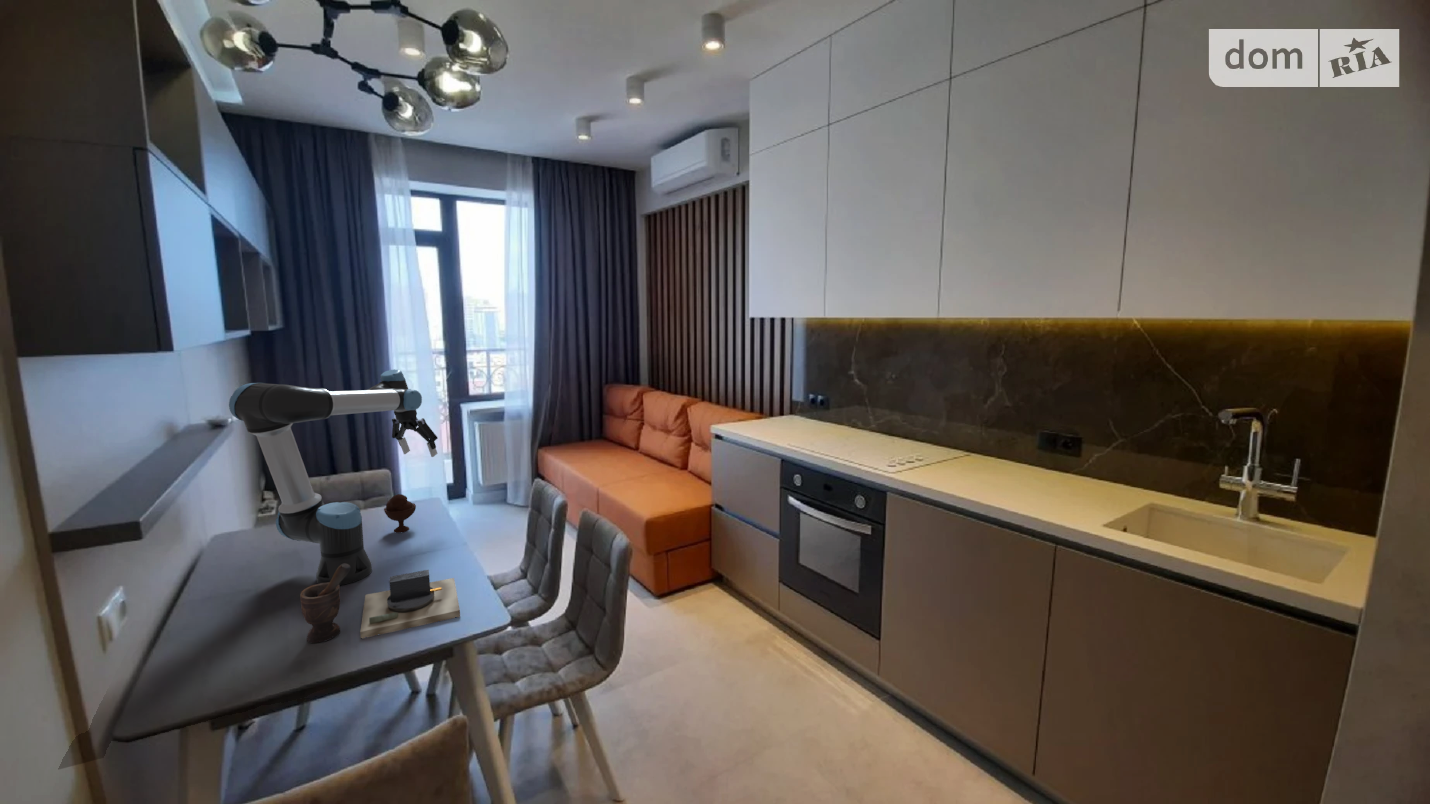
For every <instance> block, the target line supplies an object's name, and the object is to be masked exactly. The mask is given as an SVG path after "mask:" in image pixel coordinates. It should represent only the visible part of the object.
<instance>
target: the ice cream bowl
mask: <svg viewBox="0 0 1430 804" xmlns="http://www.w3.org/2000/svg"><path fill="white" fill-rule="evenodd" d="M416 508H417V505H416V504H415V503H414V502H411V501H409V500H408V497H407V496H406V495H404V494H401V493H398V494H394V495H393V496H392V497H390V499H389V500H387V502H386V505H385V507H384V508H383V511H384V514H385V515H386V517H387V518H389V519H390V520H391V521H395V522H398V526H397V527H396V528H395V529H394V528H393V533H395V532H396V534H399V533H401V532H402V533H405V532H408V531H409V530H410V527H409V526H406V525H405V521H407V519H409V518H410V517H411V516H413V514H414V513H415V511H416Z"/></svg>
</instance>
